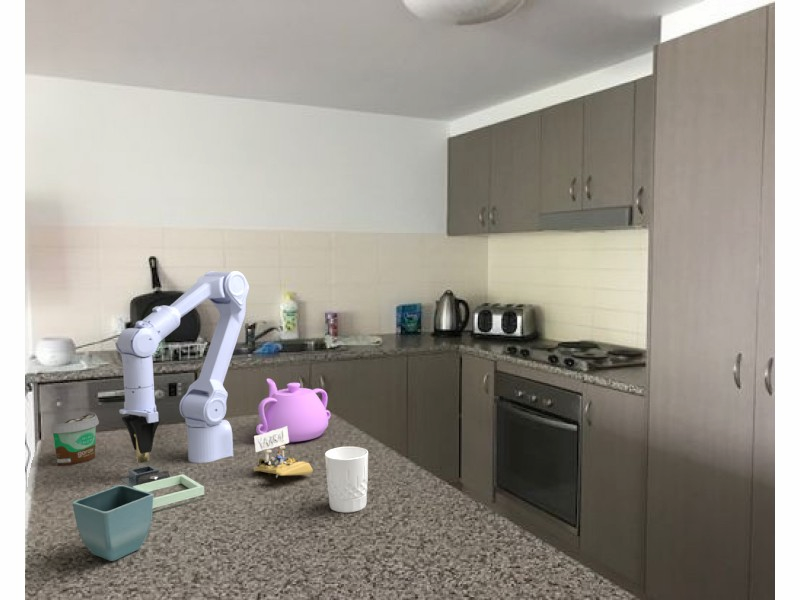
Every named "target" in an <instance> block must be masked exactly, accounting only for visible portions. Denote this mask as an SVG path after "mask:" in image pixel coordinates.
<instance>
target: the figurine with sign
mask: <svg viewBox="0 0 800 600" xmlns="http://www.w3.org/2000/svg"><path fill="white" fill-rule="evenodd" d="M253 438H254V440H253V441H254V447H255V453H259V452H262V453H264V458H263V457H261V458H259V459H258V462H257V466H255V467H254V468H253V472H261V473H267V474H276V475H275V478H276V479H277V478H278V477H279V476H280V477H281V476H282V477H284V476H287V477H288V476H306V475H307V476H308V475H310V474H312V473H313V471H314V469H313V468H312V466H311V464H310V463H309V462H305V461H302V460H296V459H295V458H294V457H292V458H291V457H288V456H287V457H286V458H285V450H286V449H287V447H286V444H289V437H288V429H287V426H285V427H283V428H280V429H276V430H272V431H270V432H267V433H264V434H260V435H259V434H257V435H254V436H253ZM278 447H279V450H277V453H276V454H275V456H271V457H270V454H271V453H272V449H274V448H278ZM270 458H271V459H270ZM220 498H221V499H223V498H224V497H223V496H221V497H220Z"/></svg>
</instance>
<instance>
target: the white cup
mask: <svg viewBox="0 0 800 600" xmlns="http://www.w3.org/2000/svg"><path fill="white" fill-rule="evenodd" d="M324 456H325V457H324V459H325V472H326V473H325V474H326V484H327V493H328V501H329V507H330V509H331V510H332V511H334V512H338V513H355V512H358V511H361V510H363V509H365V508H366V506H367V504H368V503H367V499H368V498H367V496H368V493H367V492H368V478H369V476H368V475H369V451H368V449H366V448H363V447H360V446H341V447H340V446H339V447H335V448H331V449H329V450H327V451H325V453H324Z"/></svg>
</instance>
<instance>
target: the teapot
mask: <svg viewBox="0 0 800 600" xmlns="http://www.w3.org/2000/svg"><path fill="white" fill-rule="evenodd" d="M266 382H267V386H268V397H266V398H264V399H262V400H261V401H260V402H259V403H258V406H257V407H258V408H257V410H258V411H257V412H258V415H259V418H260V423H258V424H257V425H256V428H255V432H256V434H257V435H260V434H264V433H267V432H270V431H272V430H276V429H280V428H283V427H285V426H287V429H288V437H289V443H290V444H293V443H298V442H303V441H309V440H314V439H316V438H319V437H320V436H322V435H323V433H324V432H325V431H326V430H327V429H328V427H329V420H330V418H331V416H332V415H331V411H330V410H328V409H327V406H328V398H329V397H328V393H327V392H326V390H324V389H323V388H314V389H311V388H305V387H301V383H300V382H290V383H287V384H286V387H287V388H283V389H279V390H278V388H277V384H276V383H275V381H274V380H273V379H271V378H270V377H268V378H266ZM317 394H321V399H320V398H319V395H317ZM289 443H288V444H289Z"/></svg>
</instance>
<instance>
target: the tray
mask: <svg viewBox="0 0 800 600" xmlns="http://www.w3.org/2000/svg"><path fill="white" fill-rule="evenodd" d="M180 484H181V485H183V486H185V487H186V488H187V489H183V490H179V491H175V492H172V493H168V494H165V495H164V494H163V495H160V496H156V497H155V496H154V497H153V509H156V508H159V507H162V506H167V505H170V504H174V503H177V502H180V501H181V503H179V504H175V505H171V506H168V507H164V508H162V509H161V508H160V509H157V510H152V515H153V514H156V513H159V512H163V511H167V510H171V509H174V508H179V507H181V506H186V505H189V504H191V503H196V502H200V501H203V500H206V499H205V497H200V498H197V499H194V500H190V501H187V502H182V501H186V500H188V499H193V498H196V497H199V496H203V495H205V486H204V485H202V484H200V483H199V482H197V481H195V480H193V479H192V478H190V477H189V476H187V475H185V474H184V473H182V474H178V475H174V476H170V477H169V478H165V479H161V480H157V481H153V482H149V483H144V484H140V485H136V486H133V488H134V489H138V490H142V491H145V492H149V493H150V492H153V491H157V490H161V489H164V488H169V487H172V486H173V487H174V486H177V485H180Z"/></svg>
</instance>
